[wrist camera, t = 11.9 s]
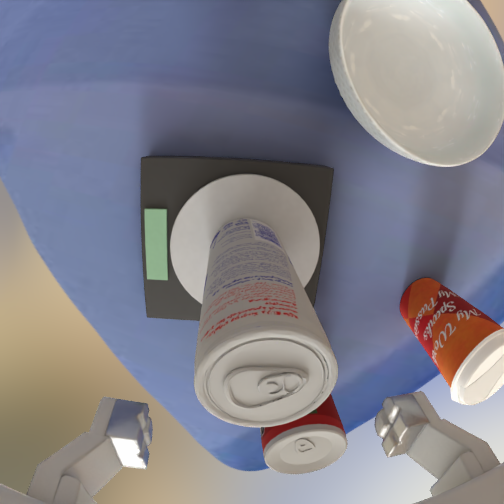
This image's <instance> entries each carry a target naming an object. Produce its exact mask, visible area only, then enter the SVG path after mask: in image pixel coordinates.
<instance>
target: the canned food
mask: <svg viewBox="0 0 504 504" xmlns="http://www.w3.org/2000/svg"><path fill="white" fill-rule="evenodd" d="M260 431H261V440H262V447H263V454H264V458H265V462H266V464H267V466H268V467H270V468H271V469H272V470H275V471H277V472H280V473H285V474H303V473H309V472H314V471H317V470H320V469H322V468H325V467H327V466H329V465H331V464H332V463H334V462H335V461H337V460H338V459H339V458H340V457H341V456H342V455H343V454H344V452H345V451H346V449H347V439H346V434H345V431H344V429H343V425H342V423H341V420H340V417H339V415H338V412H337V409H336V407H335V404H334V401H333V399H332V396H331V393H330V395H329V397H328V398H327V399H326V400H325V401H324V402H323V403H322V404H321V405H320V406H319V407H317V408H316V409H315V410H313V411H312V412H310V413H309V414H307V415H305V416H303V417H301V418H299V419H297V420H294V421H292V422H289V423H286V424H281V425H277V426H272V427H260Z"/></svg>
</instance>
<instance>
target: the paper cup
mask: <svg viewBox="0 0 504 504" xmlns="http://www.w3.org/2000/svg"><path fill="white" fill-rule="evenodd" d="M400 312H401V314H402V316H403V318H404V320H405V321H406V323H407V324H408V326H409V327H410V328H411V330H412V331H413V333H414V334H415V336H416V337H417V339H418V340H419V341H420V343H421V344H422V346H423V347H424V349H425V350H426V352H427V353H428V355H429V356H430V357H431V359H432V360H433V362H434V363H435V365H436V366H437V368H438V369H439V371H440V372H441V374H442V375H443V377H444V379H445V380H446V382H447V383H448V385H449V386H450V388H451V398H452V400H453V401H455V402H459V403H460V404H463V405H465V404H468V405H475V404H477V403H480V402H482V401H484V400H486V399H488V398H489V397H490V396H491V395H493V394H494V393H495V392H496V391H497V390H498V389H499V388H500V387H501V386H502V385H503V384H504V329H503V328H502V327H501V326H500V325H498V324H497V323H496V322H495V321H493V320H492V319H491V318H490V317H488V316H487V315H485V314H484V313H483V312H481V311H480V310H478V309H477V308H475V307H474V306H472V305H471V304H469V303H468V302H467V301H465V300H464V299H462V298H461V297H459V296H458V295H457V294H455V293H454V292H452V291H451V290H449V289H448V288H446V287H445V286H443V285H442V284H440V283H439V282H437V281H435V280H434V279H431V278H421V279H419V280H417V281H415V282H413V283H412V284H411V285H410V286H409V287H408V288H407V289H406V291H405V292H404V294H403V296H402V298H401V302H400Z"/></svg>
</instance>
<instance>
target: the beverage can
mask: <svg viewBox="0 0 504 504" xmlns="http://www.w3.org/2000/svg"><path fill="white" fill-rule="evenodd" d="M337 377H338V365H337V361H336V358H335V355H334V353H333V351H332V350H331V346H330V343H329V341H328V338H327V336H326V334H325V332H324V330H323V328H322V325H321V323H320V321H319V319H318V317H317V315H316V313H315V311H314V309H313V306H312V304H311V302H310V300H309V298H308V296H307V294H306V292H305V290H304V288H303V286H302V283H301V281H300V279H299V277H298V275H297V273H296V271H295V269H294V267H293V265H292V263H291V261H290V259H289V257H288V255H287V253H286V251H285V249H284V247H283V245H282V243H281V241H280V239H279V237H278V235H277V233H276V232H275V231H274V230H273V229H272V228H271V227H270V226H269V225H268V224H266V223H264V222H262V221H260V220H257V219H251V218H242V219H237V220H234V221H231V222H229V223H227V224H226V225H224V226H223V227H222V228H221V229H220V230H218V232H217V233H216V234H215V236H214V238H213V240H212V242H211V246H210V253H209V259H208V266H207V273H206V280H205V287H204V294H203V301H202V308H201V316H200V323H199V331H198V339H197V347H196V355H195V376H194V388H195V392H196V395H197V397H198V399H199V401H200V402H201V404H202V405H203V406H204V407H205V408H206V409H207V410H208V411H209V412H210V413H211V414H213V415H214V416H216V417H217V418H219V419H221V420H224V421H226V422H229V423H232V424H236V425H240V426H245V427H272V426H277V425H281V424H286V423H289V422H292V421H294V420H297V419H299V418H301V417H303V416H305V415H307V414H309V413H310V412H312V411H313V410H315V409H316V408H317V407H319V406H320V405H321V404H322V403H323V402H324V401H325V400H326V399H327V398H328V397H329V395H330V393H331V391H332V390H333V388H334V386H335V384H336V381H337Z"/></svg>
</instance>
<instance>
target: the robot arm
mask: <svg viewBox="0 0 504 504" xmlns="http://www.w3.org/2000/svg"><path fill="white" fill-rule="evenodd" d="M382 406H383V409H382V410H380V411H379V412H378V413H377V416H376V418H375V429H376V432H377V435H378V436H379V437H381V438H382V439H383V442H382V446H383V448H384V451H385V453H386V455H387V457H392V456H397V455H401V454H405V453H407V455H408V456H409V457H410V458H412V459H413V460H414V461H415V462H417V463H418V464H419V465H420V466H422V467H423V468H424V469H425V470H427V471H428V472H429V473H431V474H432V475H433V476H434V477H436V478H437V479H438V481H437V482H436V483H435V484H434V485H433V486H432V487H431V489H430V491H431V494H432V496H433V497H430V498H428V499H425V500H423V501H420V502H417V503H414V504H504V462H503V463H502V464H500V463H499V461H498V459H497V458H496V456H495V454H494V453H493V451H492V450H491V448H490V446H489V445H488V443H487V442H485V441H483V440H481V439H479V438H478V437H476V436H474V435H472V434H470V433H468V432H467V431H465V430H463V429H461V428H459V427H457V426H456V425H454V424H452V423H450V422H448V421H447V420H445V419H442V420H441V419H440V418H439V416H438V414H437V413H436V411H435V410H434V408H433V406H432V405H431V403H430V402H429V400H428V399H427V397H426V395H425V394H424V393H423V392H421V391H420V392H414V393H409V394H403V395H397V396H392V397H387V398H386V399H385V400H384V401H383V403H382ZM148 413H149V408H148V404H146V403H140V402H133V401H127V400H121V399H114V398H108V397H103V398H102V399H101V401H100V404H99V406H98V409H97V412H96V414H95V417H94V420H93V423H92V425H91V428H90V431H89V433H88V432H84V433H83V434H82V435H80V436H79V437H77V438H76V439H74V440H73V441H71V442H70V443H69V444H67V445H66V446H64V447H63V448H62V449H60V450H59V451H57V452H56V453H54V454H53V455H51V456H50V457H49V458H47V459H45V460H44V461H42V462H41V463H40V464H38V465H37V468H36V471H35V473H34V475H33V478H32V481H31V484H30V486H29V489H28V492H27V494H26V495H25V494H23V493H21V492H18V491H16V490H14V489H11V488H9V487H7V486H5V485H3V484H1V483H0V504H97V503H96V502H95V500H94V499H93V498H92V497H93V496H94V495H95V494H96V493H97V492H98V491H99V490H100V489H101V488H102V487H103V486H104V485H105V484H106V483H107V482H108V481H109V480H110V479H111V478H112V477H113V476H114V475H115V474H116V473H117V472H118V471H119V470H120V469H121V468H122V466H125V467H132V468H140V469H147V464H148V458H149V452H148V449H147V446H149V445H150V444H151V440H152V421H151V418H150V417H149V416H148Z"/></svg>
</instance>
